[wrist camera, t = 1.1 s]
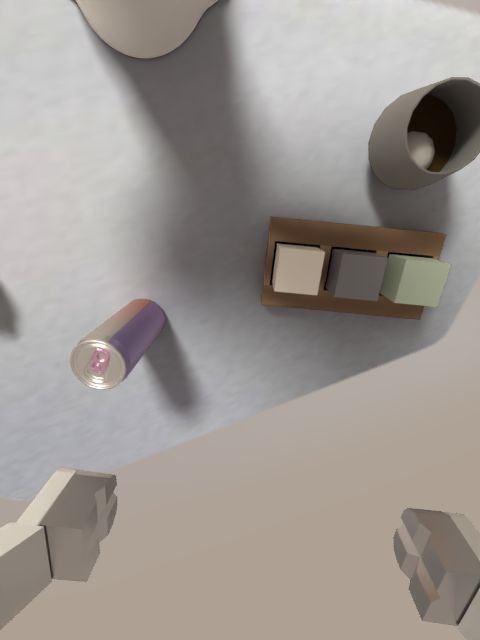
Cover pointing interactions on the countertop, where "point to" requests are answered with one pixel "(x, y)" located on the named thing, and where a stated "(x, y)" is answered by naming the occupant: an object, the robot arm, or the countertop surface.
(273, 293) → the wooden tray
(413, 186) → the cup
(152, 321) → the beverage can
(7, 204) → the countertop surface
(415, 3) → the countertop surface
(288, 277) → the ivory key
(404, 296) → the sage key
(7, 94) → the countertop surface
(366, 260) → the graphite key
